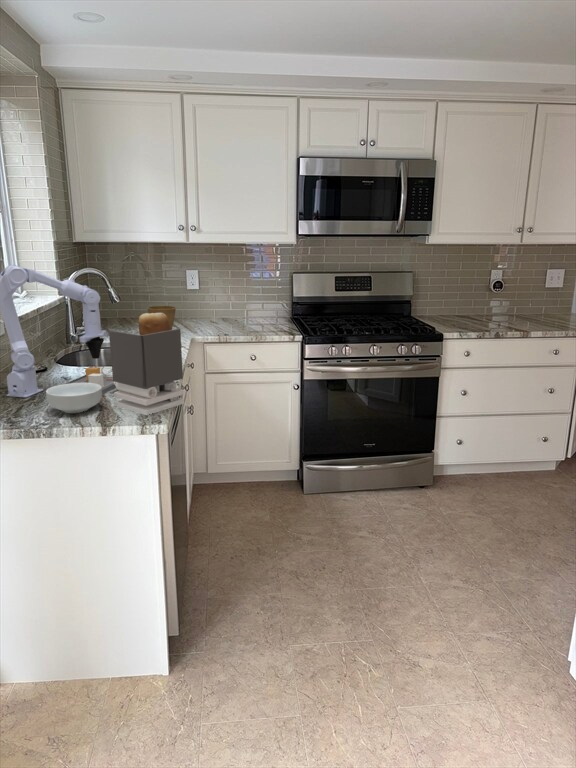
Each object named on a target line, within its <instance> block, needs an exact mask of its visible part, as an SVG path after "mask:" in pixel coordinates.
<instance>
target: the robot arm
mask: <svg viewBox="0 0 576 768" xmlns="http://www.w3.org/2000/svg"><path fill="white" fill-rule="evenodd" d="M75 281H76V280H74V279H65V280H62V281H61V280H59V279H57V278H55V277H52V276H50V275H48V274H45V273H43V272H40V271H38V270H36V269H31V268H27V267H22V266H19V265H16V264H11V265H7V266H6V267H5V268H4V269H3V270H2V271H1V272H0V313H1V317H2V321H3V324H4V327H5V331H6V333H7V337H8V340H9V345H10V350H11V352H10V360H11V361H12V363H14V364H13V366H12V367H11V368H12V369H11V372H10V373H8V375H7V376H6V383H7V391H8V392H7V393H8V394H6V396H7V397H14V398H17V397H18V398H29V397H31V396H33V395H36V394H38V393H40V392H42V391H44V389H43V388H38V382H37V374H36V366H35V357H34V355H33V354H32V353H31V352H30V350H29V346H28V344H27V343H26V339H25V336H24V332H23V330H22V325H21V322H20V320H19V315H18V312H17V309H16V306H15V302H14V299H13V295H14V293H15V292H16V291H17V290H18V289H19V288H20V287H22V286H23V285H24V284H26V283H28V284H29V283H39V284H43V285H45V286H49V287H51V288H54V289H56V290H58V291H59V293H60V295H62V296H64V297H67V298H69V299H72V300H74V301H78V302H81V303H82V304H81V305H82V315H83V327H84V334H83V335H82V336H80V337H79V342H80V343H84V344H85V345H86V347H87V348H88V350H89V353H90V355H91V356H90V357H91V358H92V359H95V360H96V359H100V355H101V349H102V346H103V343H104V341H105V339H104V338H103V337H106V336H107V334H108V333H107V330H102V326H101V324H102V323H101V322H102V321H101V314H100V313H101V312H100V306H99V305H100V304H99V303H100V301H101V296H100V294H99V292H98V291H97V290H96V289H92V288H90V287H88V285H85V284H84V285H81V284H79V283H77V282H75Z"/></svg>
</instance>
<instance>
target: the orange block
mask: <svg viewBox="0 0 576 768" xmlns="http://www.w3.org/2000/svg"><path fill="white" fill-rule="evenodd" d="M90 374H101V367H100V366H99V367H95V366H90V367H87V368H85V375H86V378H87V381H89V380H88V375H90Z"/></svg>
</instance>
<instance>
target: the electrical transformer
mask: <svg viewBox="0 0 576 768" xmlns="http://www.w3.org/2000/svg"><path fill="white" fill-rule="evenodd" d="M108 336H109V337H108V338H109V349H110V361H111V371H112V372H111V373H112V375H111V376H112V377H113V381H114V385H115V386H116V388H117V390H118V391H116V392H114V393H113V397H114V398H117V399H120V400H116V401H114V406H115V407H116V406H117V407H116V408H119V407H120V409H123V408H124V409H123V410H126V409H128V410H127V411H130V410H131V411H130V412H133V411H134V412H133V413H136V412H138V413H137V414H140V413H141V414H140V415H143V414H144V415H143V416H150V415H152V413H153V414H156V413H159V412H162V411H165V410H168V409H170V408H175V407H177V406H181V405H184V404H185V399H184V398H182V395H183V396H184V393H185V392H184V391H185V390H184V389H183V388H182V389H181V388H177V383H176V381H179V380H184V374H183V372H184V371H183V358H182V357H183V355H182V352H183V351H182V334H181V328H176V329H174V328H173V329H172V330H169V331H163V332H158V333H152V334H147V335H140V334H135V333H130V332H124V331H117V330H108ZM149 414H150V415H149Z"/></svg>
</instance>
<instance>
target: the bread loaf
mask: <svg viewBox="0 0 576 768" xmlns="http://www.w3.org/2000/svg"><path fill="white" fill-rule="evenodd" d="M169 330H170V325H169V321H168V318H167V316H166V315H165V314H163V313H148V312H145V313H142V314H141V315H139V317H138V333H139V334H138V335H147V334H152V333H158V332H163V331H169Z"/></svg>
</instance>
